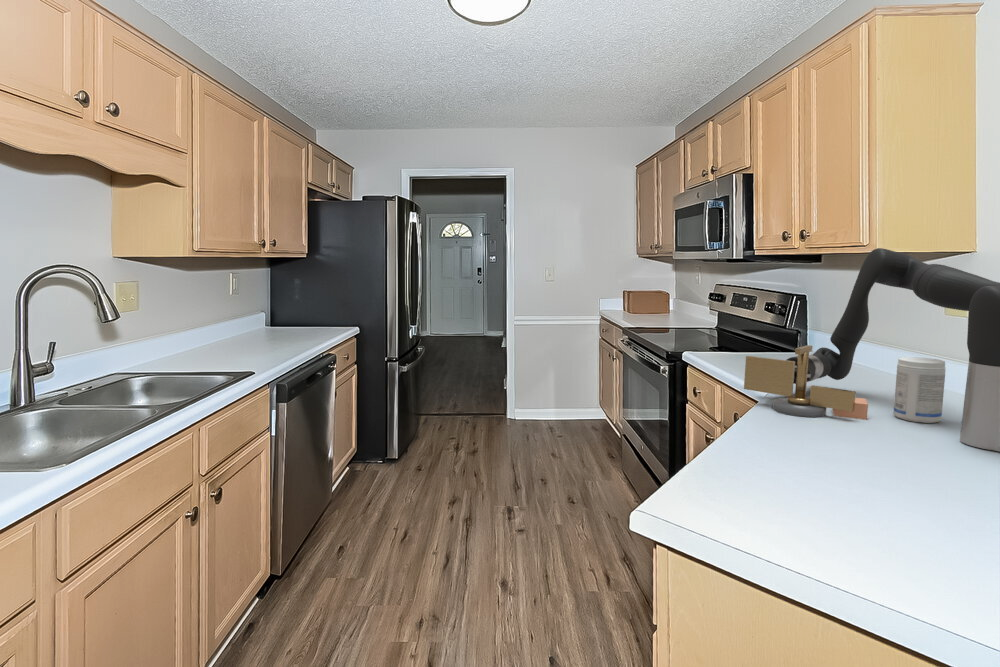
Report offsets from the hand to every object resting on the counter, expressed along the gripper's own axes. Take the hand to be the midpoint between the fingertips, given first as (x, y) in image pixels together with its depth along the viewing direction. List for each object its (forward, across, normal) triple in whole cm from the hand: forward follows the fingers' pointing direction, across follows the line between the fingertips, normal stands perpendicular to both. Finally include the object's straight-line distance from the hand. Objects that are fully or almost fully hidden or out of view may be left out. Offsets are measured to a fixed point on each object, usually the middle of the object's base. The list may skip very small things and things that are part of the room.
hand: (769, 375), depth 152 cm
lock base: (0, +8, +8) cm, 11 cm away
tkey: (0, +7, +6) cm, 9 cm away
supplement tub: (-18, +28, +8) cm, 34 cm away
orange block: (-8, +17, +8) cm, 20 cm away
